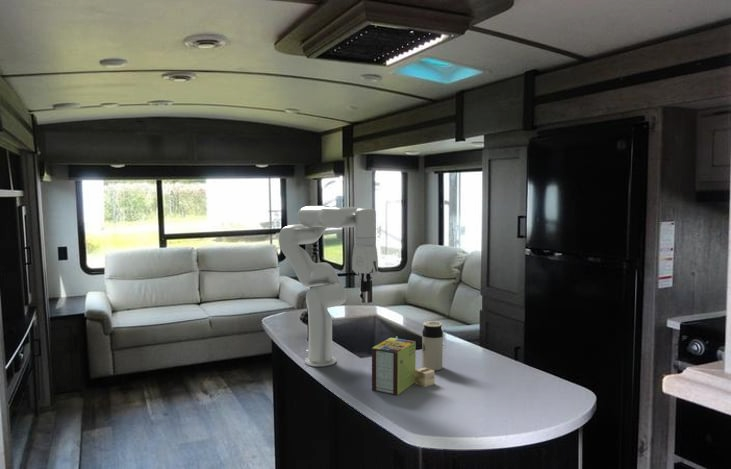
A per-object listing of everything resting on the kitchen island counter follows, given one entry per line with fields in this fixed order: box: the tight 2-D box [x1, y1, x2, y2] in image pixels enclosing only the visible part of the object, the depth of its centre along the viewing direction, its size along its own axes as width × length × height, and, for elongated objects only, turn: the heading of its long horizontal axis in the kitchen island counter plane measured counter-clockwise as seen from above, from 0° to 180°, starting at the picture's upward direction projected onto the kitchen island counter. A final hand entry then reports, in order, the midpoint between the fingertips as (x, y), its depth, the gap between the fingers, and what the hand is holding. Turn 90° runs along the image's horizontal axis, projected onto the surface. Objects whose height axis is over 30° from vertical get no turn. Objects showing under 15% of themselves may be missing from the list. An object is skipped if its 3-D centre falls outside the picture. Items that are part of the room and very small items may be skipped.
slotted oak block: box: [414, 367, 436, 388], centre depth 200 cm, size 5×5×5 cm
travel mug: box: [421, 320, 444, 372], centre depth 217 cm, size 8×8×18 cm
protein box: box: [371, 337, 417, 396], centre depth 197 cm, size 10×15×16 cm
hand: (365, 291), depth 203 cm, fingers closed
